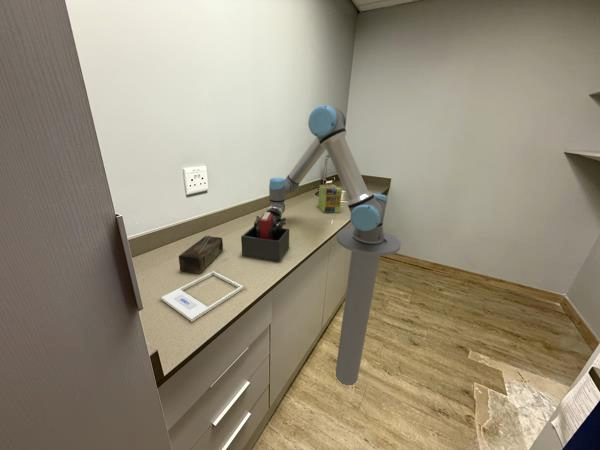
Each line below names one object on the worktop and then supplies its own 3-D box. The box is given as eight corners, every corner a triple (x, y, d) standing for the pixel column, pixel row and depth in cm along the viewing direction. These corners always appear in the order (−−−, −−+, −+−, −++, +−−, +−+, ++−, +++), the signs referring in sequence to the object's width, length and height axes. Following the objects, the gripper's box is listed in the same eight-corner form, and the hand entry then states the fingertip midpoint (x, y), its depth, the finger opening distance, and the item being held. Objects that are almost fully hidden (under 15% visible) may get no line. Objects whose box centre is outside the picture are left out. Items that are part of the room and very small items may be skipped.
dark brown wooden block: (224, 250, 101) (223, 235, 98) (200, 275, 83) (198, 258, 81) (206, 248, 102) (204, 233, 99) (179, 272, 84) (176, 255, 81)
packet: (272, 241, 104) (273, 212, 99) (269, 250, 96) (269, 219, 91) (263, 240, 104) (263, 211, 99) (259, 249, 96) (258, 218, 92)
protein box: (324, 213, 154) (326, 189, 149) (317, 206, 168) (319, 184, 163) (339, 212, 156) (342, 189, 151) (332, 206, 171) (334, 184, 165)
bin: (288, 247, 106) (289, 229, 103) (279, 262, 93) (279, 241, 90) (255, 242, 109) (255, 224, 106) (242, 256, 96) (241, 236, 93)
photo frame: (161, 296, 70) (213, 270, 84) (161, 299, 70) (213, 273, 84) (191, 318, 62) (243, 285, 76) (191, 321, 62) (243, 288, 77)
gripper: (291, 223, 115) (285, 244, 93) (256, 221, 116) (242, 241, 94) (291, 208, 113) (285, 226, 91) (255, 206, 113) (241, 223, 91)
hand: (263, 234), depth 92 cm, fingers closed on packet, 4 cm apart
